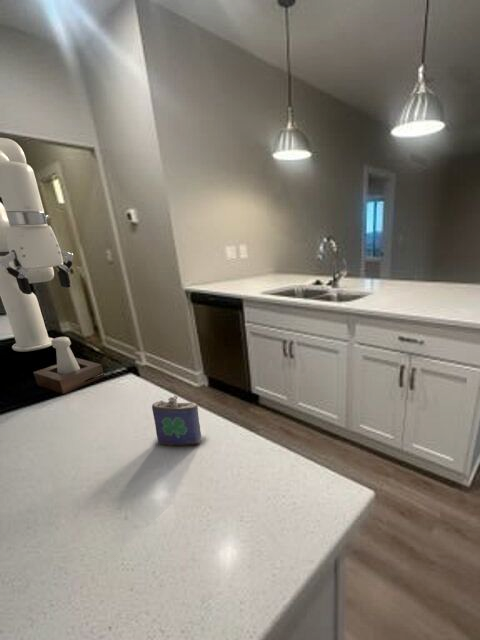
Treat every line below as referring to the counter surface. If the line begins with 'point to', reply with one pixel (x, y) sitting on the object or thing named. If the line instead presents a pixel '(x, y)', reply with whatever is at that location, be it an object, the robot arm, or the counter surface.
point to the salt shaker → (64, 356)
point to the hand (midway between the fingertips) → (47, 290)
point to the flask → (177, 423)
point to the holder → (69, 377)
